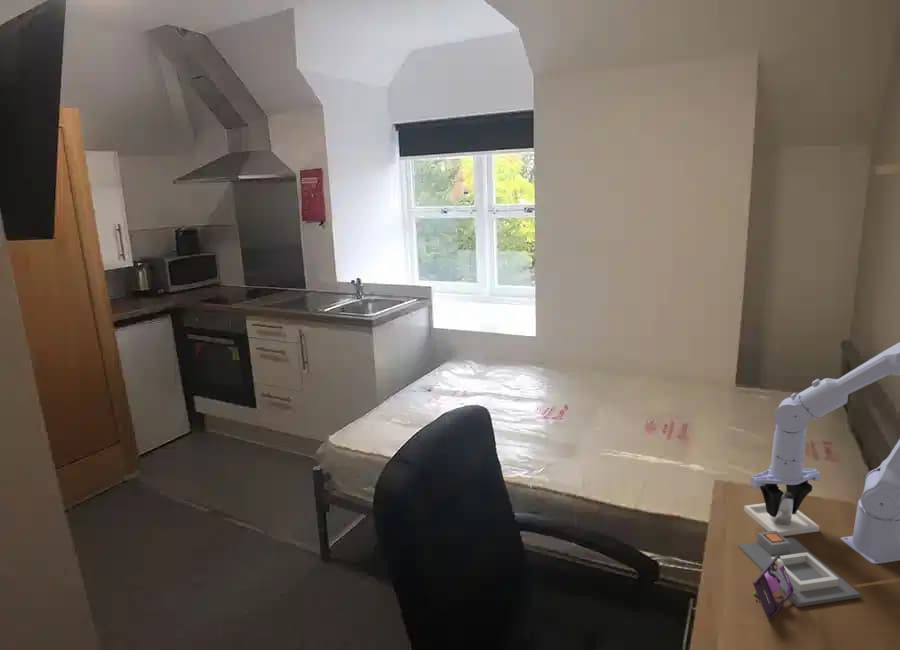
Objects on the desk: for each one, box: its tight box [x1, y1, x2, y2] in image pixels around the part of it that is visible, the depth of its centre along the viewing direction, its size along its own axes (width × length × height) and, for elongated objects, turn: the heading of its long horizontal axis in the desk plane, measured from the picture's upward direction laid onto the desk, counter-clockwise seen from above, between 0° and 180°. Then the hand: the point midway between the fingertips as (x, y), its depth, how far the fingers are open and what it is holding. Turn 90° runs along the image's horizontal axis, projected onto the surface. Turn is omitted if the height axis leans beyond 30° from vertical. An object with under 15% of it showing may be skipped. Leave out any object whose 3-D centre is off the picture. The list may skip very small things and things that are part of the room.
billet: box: [770, 489, 794, 526], centre depth 122 cm, size 4×4×6 cm
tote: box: [743, 502, 821, 537], centre depth 123 cm, size 10×10×1 cm
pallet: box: [737, 531, 861, 608], centre depth 108 cm, size 12×16×3 cm
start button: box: [765, 533, 783, 543], centre depth 114 cm, size 2×2×2 cm
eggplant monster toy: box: [752, 556, 794, 621], centre depth 101 cm, size 7×5×9 cm
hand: (781, 512), depth 123 cm, fingers closed on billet, 4 cm apart
